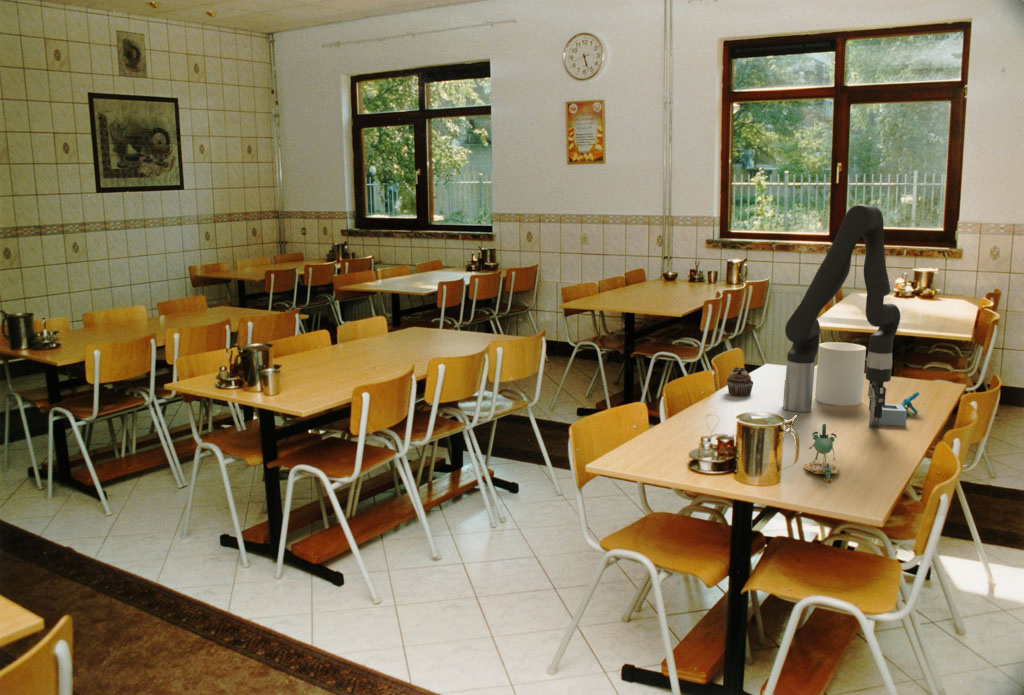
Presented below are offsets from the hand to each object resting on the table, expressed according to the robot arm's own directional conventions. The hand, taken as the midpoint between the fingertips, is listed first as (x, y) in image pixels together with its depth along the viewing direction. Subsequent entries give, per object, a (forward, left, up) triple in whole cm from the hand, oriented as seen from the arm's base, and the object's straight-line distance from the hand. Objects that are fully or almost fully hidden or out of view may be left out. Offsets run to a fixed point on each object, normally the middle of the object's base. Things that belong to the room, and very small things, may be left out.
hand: (875, 414), depth 289 cm
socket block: (+6, +8, -4) cm, 11 cm away
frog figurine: (-23, -52, -5) cm, 57 cm away
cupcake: (-41, +36, -4) cm, 55 cm away
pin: (0, 0, -4) cm, 4 cm away
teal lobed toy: (+14, +22, -4) cm, 26 cm away
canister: (-6, +35, -4) cm, 36 cm away
